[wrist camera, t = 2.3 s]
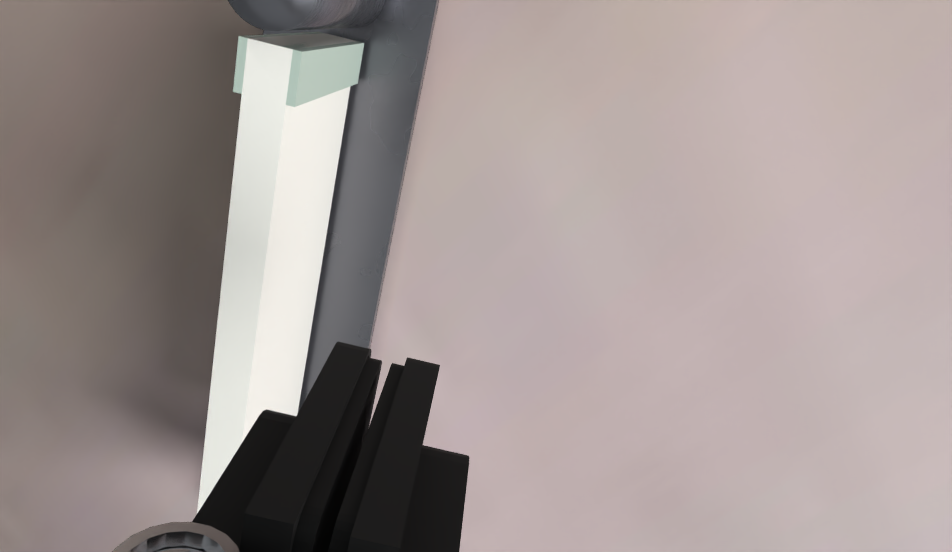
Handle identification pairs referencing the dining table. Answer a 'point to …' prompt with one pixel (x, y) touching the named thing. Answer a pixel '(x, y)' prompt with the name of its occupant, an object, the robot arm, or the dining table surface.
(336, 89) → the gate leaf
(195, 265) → the dining table surface
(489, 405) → the dining table surface
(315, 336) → the gate frame
